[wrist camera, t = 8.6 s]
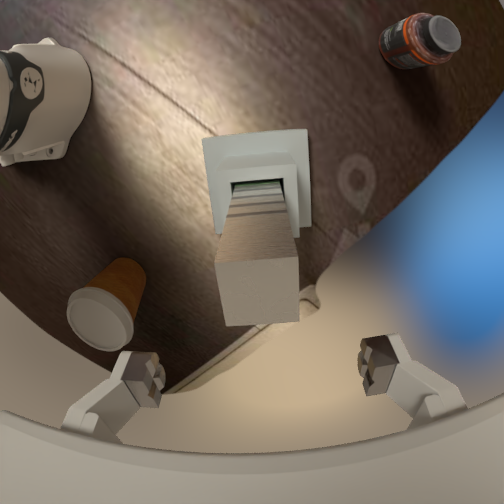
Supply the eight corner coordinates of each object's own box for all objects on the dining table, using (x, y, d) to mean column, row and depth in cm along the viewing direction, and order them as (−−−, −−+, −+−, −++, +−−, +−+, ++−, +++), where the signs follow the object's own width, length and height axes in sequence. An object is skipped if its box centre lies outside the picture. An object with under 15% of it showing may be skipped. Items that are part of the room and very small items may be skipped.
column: (241, 219, 30) (226, 326, 16) (236, 180, 28) (213, 262, 14) (281, 216, 30) (299, 321, 16) (278, 177, 28) (298, 256, 14)
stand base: (217, 229, 39) (205, 268, 30) (203, 137, 34) (184, 149, 25) (309, 222, 38) (324, 259, 29) (305, 128, 33) (322, 137, 24)
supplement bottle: (421, 70, 28) (473, 66, 18) (381, 69, 29) (427, 60, 19) (413, 29, 25) (461, 12, 15) (372, 26, 26) (414, 2, 16)
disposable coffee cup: (156, 305, 45) (133, 360, 35) (103, 294, 45) (71, 343, 34) (157, 253, 41) (126, 304, 30) (98, 242, 40) (57, 287, 30)
